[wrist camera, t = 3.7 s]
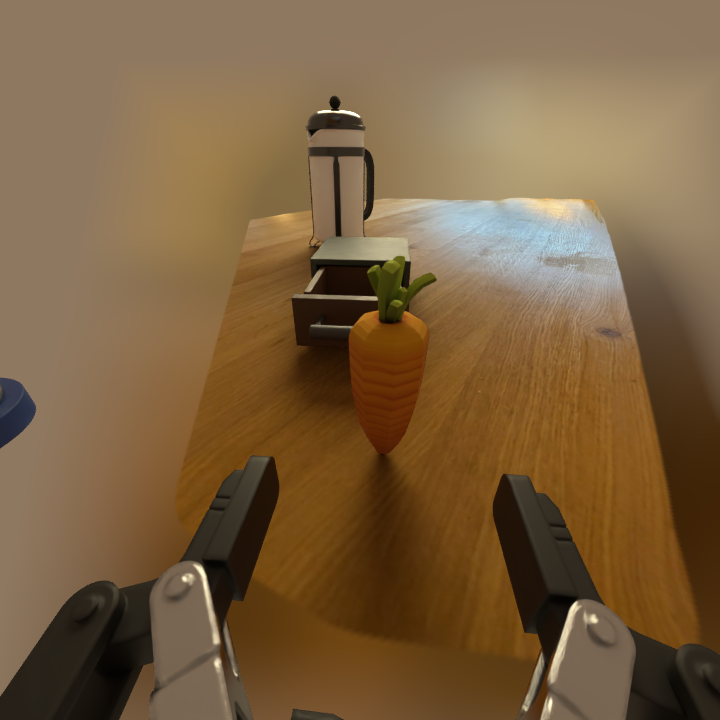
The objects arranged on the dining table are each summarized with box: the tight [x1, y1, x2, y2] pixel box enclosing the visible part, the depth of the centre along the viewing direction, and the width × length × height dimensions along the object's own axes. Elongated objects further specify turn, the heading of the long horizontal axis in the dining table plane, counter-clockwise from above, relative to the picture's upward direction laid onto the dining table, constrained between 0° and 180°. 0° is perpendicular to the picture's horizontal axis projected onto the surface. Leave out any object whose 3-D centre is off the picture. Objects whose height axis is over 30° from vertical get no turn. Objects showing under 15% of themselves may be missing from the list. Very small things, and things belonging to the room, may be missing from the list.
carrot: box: [349, 256, 437, 454], centre depth 22 cm, size 5×5×15 cm
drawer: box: [292, 265, 409, 348], centre depth 40 cm, size 18×12×6 cm
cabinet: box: [310, 237, 411, 290], centre depth 53 cm, size 15×14×8 cm
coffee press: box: [306, 96, 374, 247], centre depth 77 cm, size 17×16×30 cm
